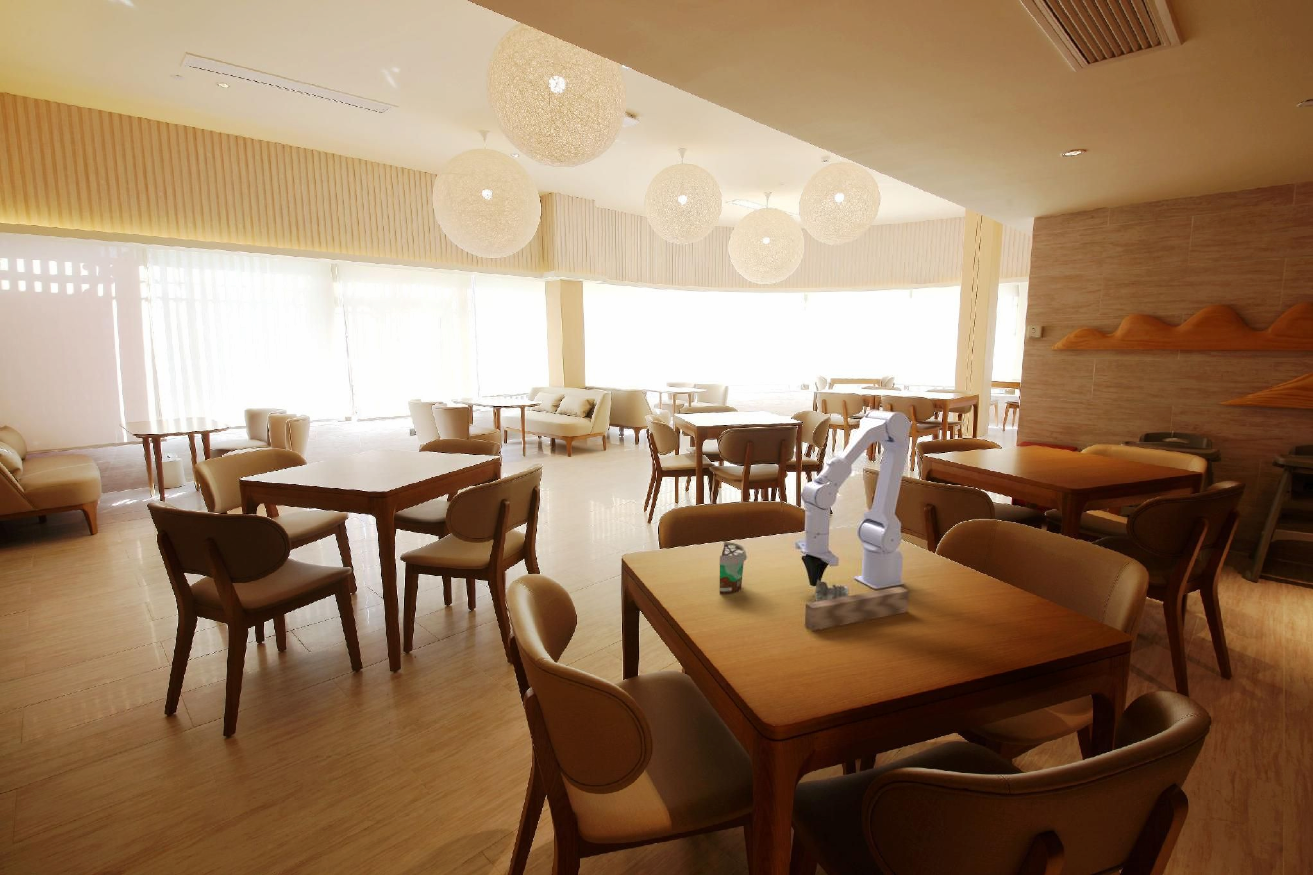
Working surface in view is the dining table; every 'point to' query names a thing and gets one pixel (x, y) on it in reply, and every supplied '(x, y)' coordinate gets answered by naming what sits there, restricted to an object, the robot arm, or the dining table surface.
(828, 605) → the walnut board
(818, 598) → the egg carton
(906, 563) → the dining table surface
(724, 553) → the food container
